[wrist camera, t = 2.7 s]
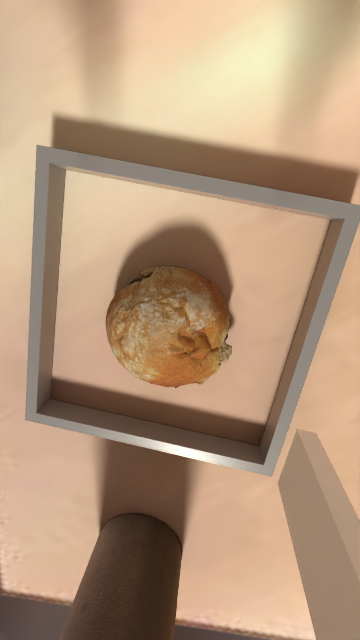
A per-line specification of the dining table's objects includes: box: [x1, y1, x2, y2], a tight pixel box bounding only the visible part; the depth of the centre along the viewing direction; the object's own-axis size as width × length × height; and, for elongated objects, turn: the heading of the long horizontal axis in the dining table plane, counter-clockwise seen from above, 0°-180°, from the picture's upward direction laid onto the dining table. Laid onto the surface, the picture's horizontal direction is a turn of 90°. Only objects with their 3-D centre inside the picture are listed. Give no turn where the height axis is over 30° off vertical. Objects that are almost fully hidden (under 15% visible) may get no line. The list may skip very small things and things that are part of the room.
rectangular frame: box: [25, 145, 360, 477], centre depth 26 cm, size 23×23×2 cm
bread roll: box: [106, 266, 232, 388], centre depth 25 cm, size 10×10×8 cm
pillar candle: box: [59, 514, 182, 640], centre depth 27 cm, size 10×10×15 cm
